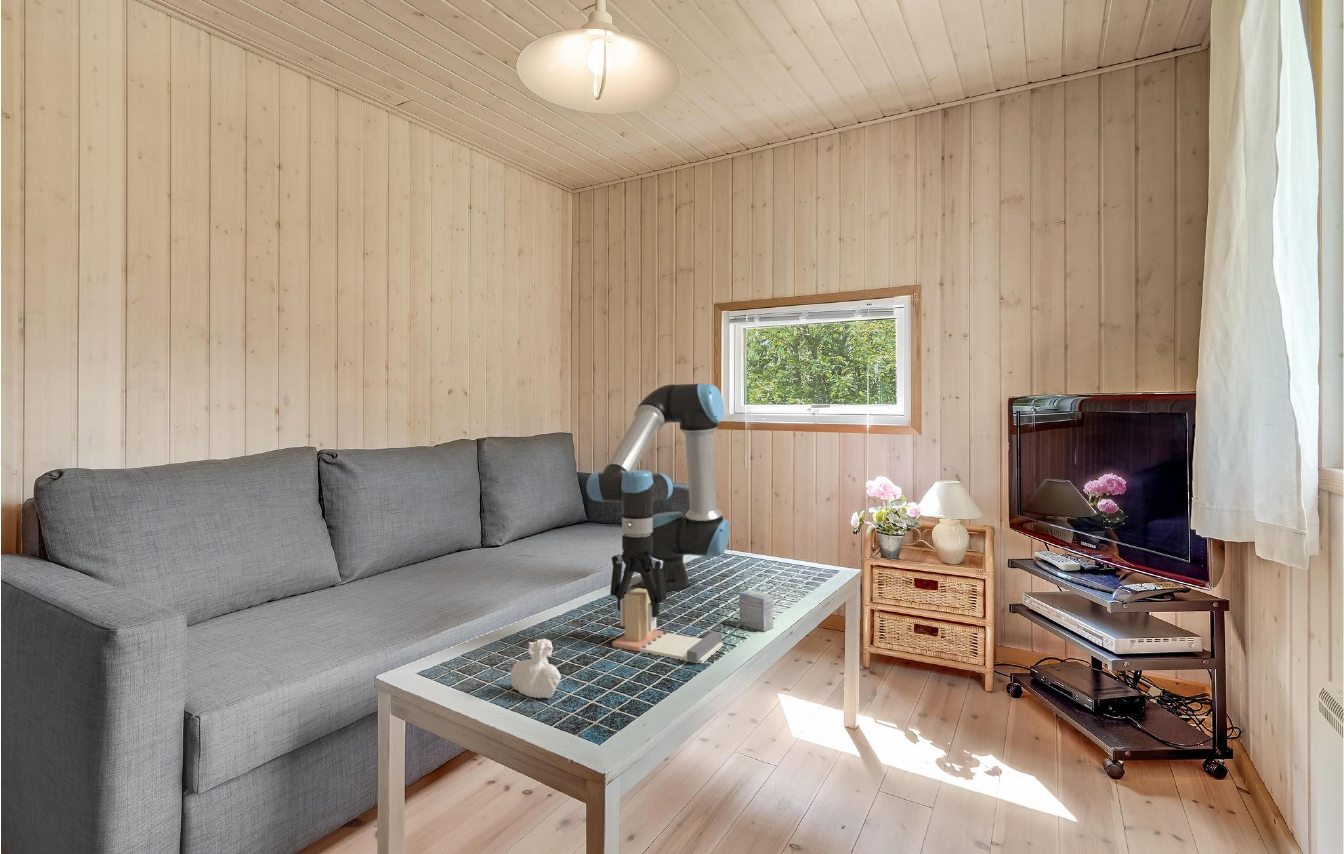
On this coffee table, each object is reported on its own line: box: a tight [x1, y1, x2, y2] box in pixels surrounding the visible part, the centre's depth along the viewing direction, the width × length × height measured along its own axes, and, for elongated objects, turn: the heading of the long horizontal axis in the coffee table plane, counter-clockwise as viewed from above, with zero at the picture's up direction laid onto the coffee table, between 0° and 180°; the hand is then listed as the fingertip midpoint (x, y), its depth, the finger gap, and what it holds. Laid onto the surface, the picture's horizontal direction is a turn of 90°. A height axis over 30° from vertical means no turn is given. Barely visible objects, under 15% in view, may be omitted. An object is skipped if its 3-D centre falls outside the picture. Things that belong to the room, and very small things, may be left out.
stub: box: [611, 587, 664, 652], centre depth 157 cm, size 7×12×12 cm, turn 152°
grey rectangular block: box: [738, 589, 774, 632], centre depth 167 cm, size 8×4×9 cm, turn 47°
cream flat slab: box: [639, 630, 724, 665], centre depth 152 cm, size 16×14×3 cm
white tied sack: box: [509, 638, 562, 699], centre depth 130 cm, size 12×8×11 cm
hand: (638, 626), depth 157 cm, fingers open, 7 cm apart
